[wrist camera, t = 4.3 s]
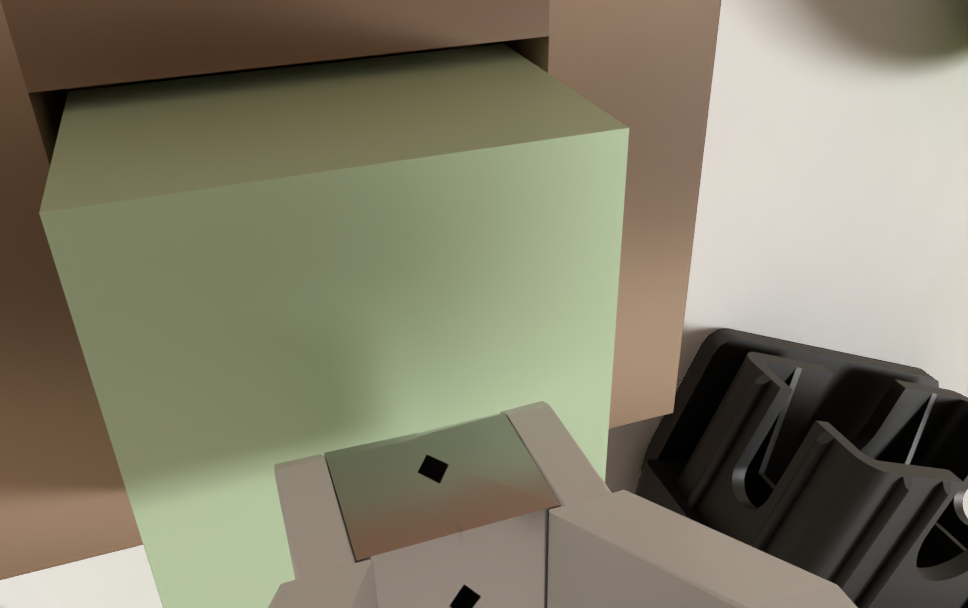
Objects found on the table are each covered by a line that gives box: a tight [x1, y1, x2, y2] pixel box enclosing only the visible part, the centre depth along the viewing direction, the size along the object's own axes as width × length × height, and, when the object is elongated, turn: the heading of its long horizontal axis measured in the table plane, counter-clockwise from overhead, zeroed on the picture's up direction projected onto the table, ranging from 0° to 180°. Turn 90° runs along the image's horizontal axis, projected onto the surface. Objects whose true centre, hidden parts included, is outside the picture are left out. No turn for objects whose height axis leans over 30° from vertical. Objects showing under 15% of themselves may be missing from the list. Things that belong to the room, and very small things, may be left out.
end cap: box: [635, 329, 968, 608], centre depth 23 cm, size 10×7×7 cm
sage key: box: [39, 44, 629, 608], centre depth 12 cm, size 6×6×4 cm
